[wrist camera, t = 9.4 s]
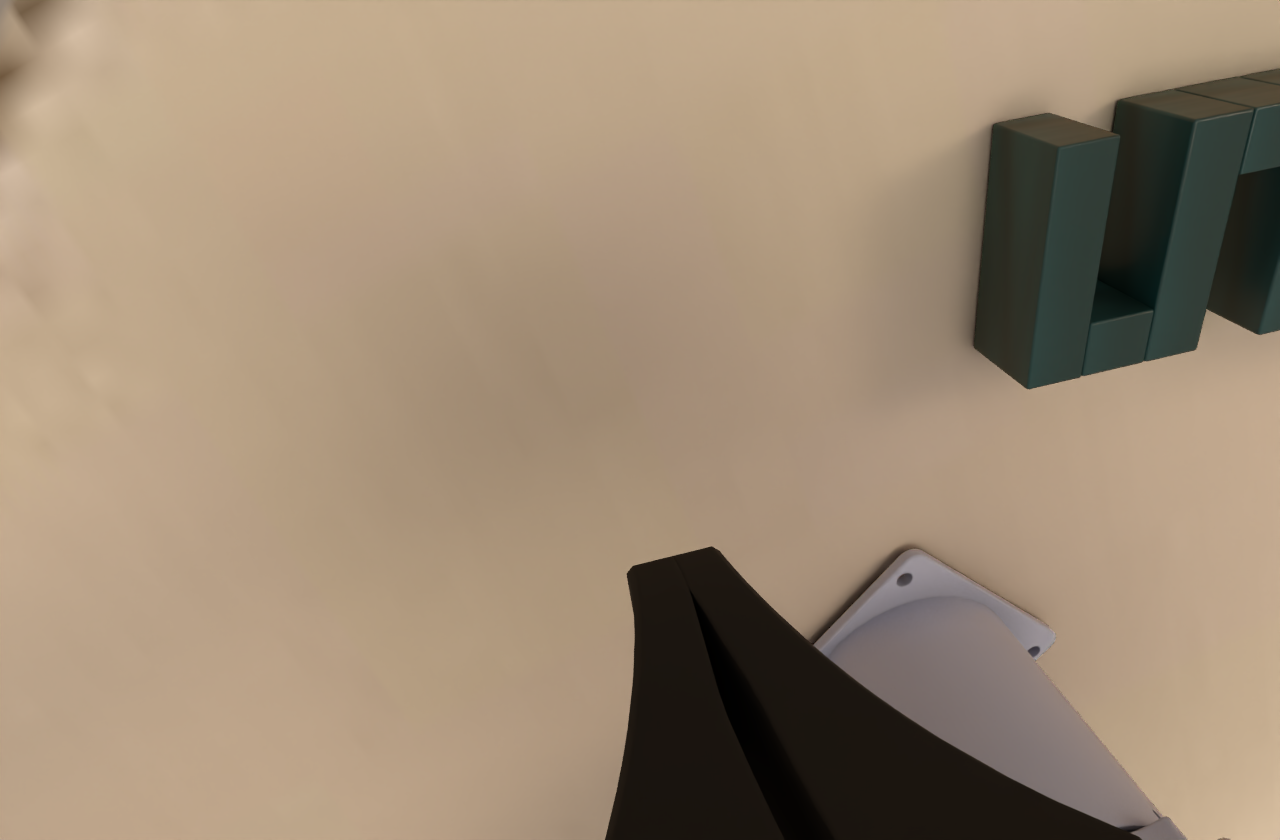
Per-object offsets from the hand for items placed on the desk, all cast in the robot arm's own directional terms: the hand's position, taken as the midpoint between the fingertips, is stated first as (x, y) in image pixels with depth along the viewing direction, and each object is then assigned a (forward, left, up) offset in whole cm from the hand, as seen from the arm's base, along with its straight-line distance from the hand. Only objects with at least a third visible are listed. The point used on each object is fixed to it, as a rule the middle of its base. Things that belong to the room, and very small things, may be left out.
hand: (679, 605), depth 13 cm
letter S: (+11, -10, -9) cm, 17 cm away
